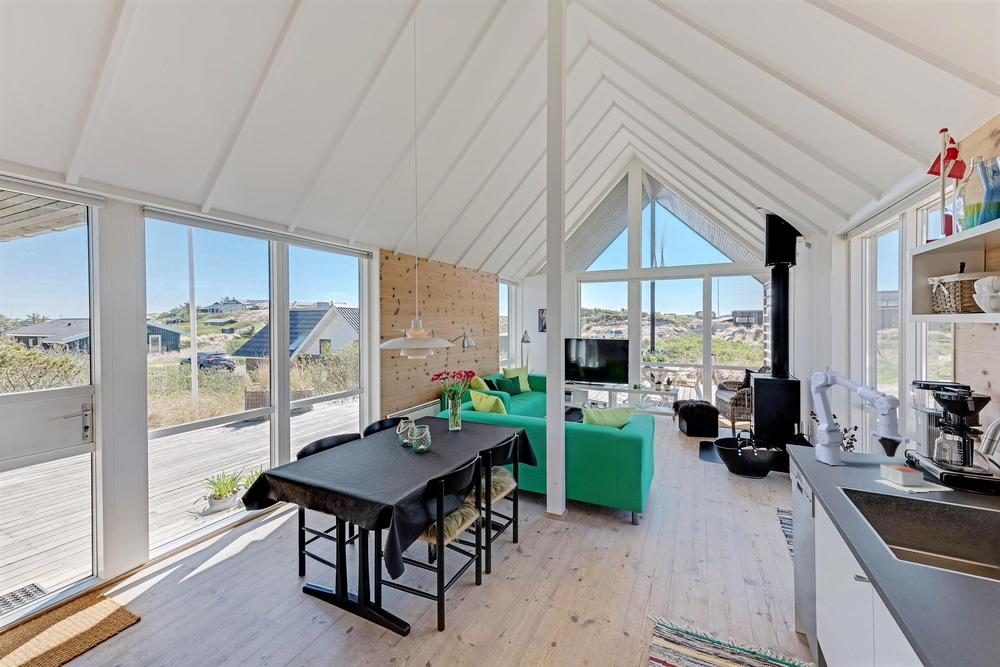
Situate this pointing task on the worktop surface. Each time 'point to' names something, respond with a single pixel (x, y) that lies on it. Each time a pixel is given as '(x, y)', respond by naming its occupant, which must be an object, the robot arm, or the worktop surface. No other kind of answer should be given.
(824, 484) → the worktop surface
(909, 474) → the small box
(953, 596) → the worktop surface
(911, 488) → the mat
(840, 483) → the worktop surface
